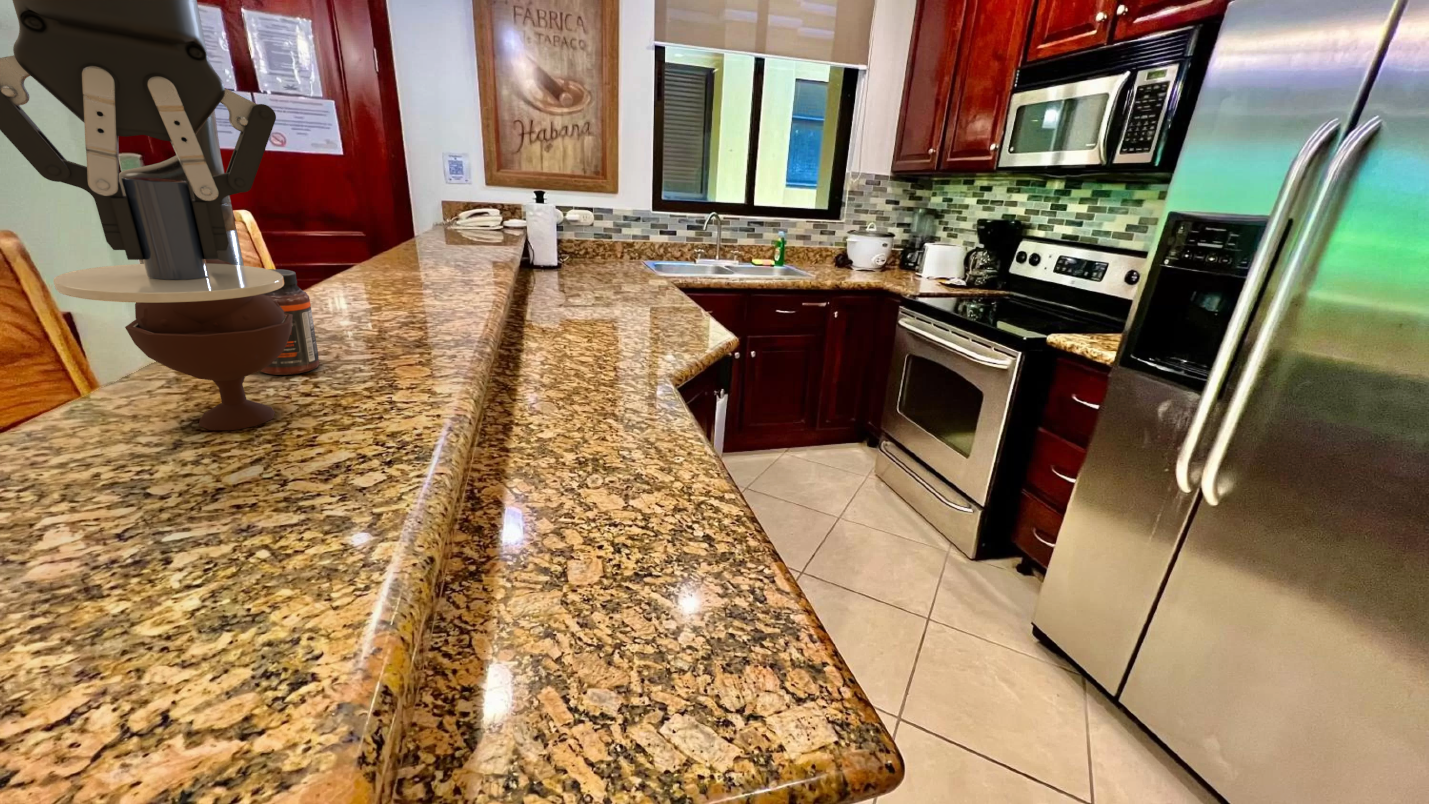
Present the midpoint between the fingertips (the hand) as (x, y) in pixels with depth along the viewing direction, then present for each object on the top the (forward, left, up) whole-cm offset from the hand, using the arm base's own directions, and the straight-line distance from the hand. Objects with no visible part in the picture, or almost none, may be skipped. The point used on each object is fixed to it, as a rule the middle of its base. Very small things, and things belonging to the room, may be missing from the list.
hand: (173, 256), depth 36 cm
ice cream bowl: (-13, +2, -17) cm, 21 cm away
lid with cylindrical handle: (0, 0, -2) cm, 2 cm away
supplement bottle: (-27, +7, -17) cm, 33 cm away
